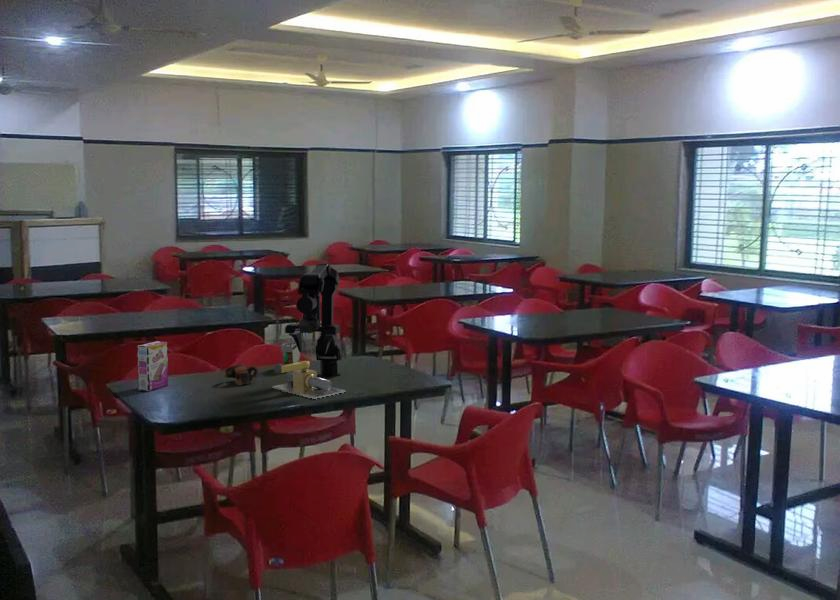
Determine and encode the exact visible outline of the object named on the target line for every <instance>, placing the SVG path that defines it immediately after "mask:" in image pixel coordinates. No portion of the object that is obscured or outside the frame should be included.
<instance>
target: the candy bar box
mask: <svg viewBox="0 0 840 600" xmlns="http://www.w3.org/2000/svg"><path fill="white" fill-rule="evenodd" d="M136 348H137V350H136V351H137V379H138V380H137V381H138V391H142V392H148V391H149V392H151V390H152V391H155V390H158V389H161V388H164V387H166V385H167V386H168V385H169V367H168V365H169V363H168V362H169V361H168V360H169V359H168V342H167V341H152V342H149V343H144V344H140V345H137V347H136ZM163 386H164V387H163ZM160 387H161V388H160ZM157 388H158V389H157ZM154 389H155V390H154Z"/></svg>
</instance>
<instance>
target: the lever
mask: <svg viewBox="0 0 840 600" xmlns="http://www.w3.org/2000/svg"><path fill="white" fill-rule="evenodd" d="M310 364H311V363H310V361H309V360H300V362H297V363H292V364H286V365H284V364H282V363H275V364H274V365H273V366H274V373H275V374H282V373H287V372H289V371H292V372H293V371H294V370H295V371H296V370H301V369H305V368H308V369H309V368H310V366H311V365H310Z"/></svg>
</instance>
